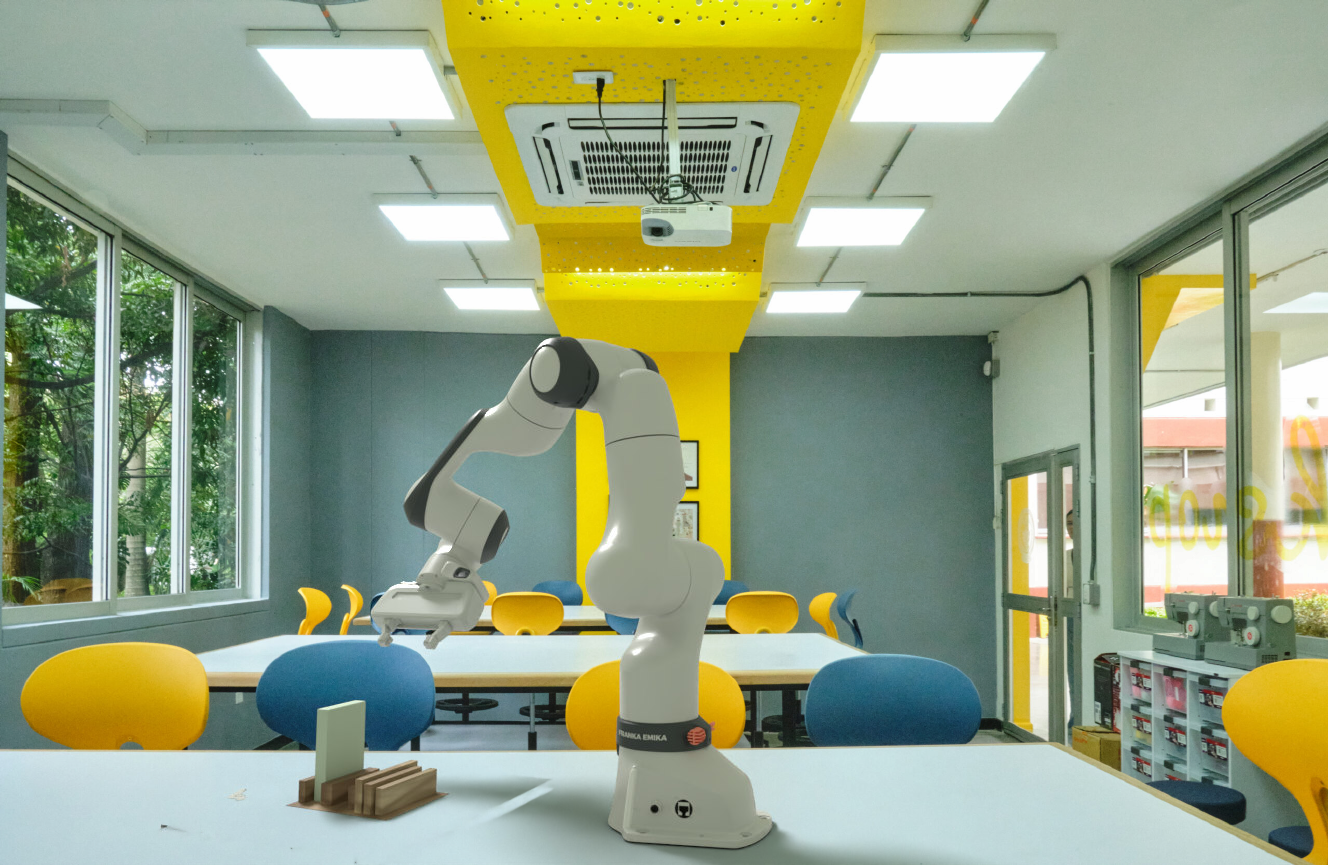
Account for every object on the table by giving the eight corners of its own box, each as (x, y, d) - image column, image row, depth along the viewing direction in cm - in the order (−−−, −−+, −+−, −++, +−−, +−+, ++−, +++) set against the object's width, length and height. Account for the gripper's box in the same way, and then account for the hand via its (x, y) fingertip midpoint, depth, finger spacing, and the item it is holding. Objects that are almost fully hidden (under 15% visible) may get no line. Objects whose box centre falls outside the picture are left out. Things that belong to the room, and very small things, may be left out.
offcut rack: (449, 801, 137) (450, 762, 138) (385, 829, 124) (387, 785, 125) (354, 789, 144) (355, 751, 145) (285, 813, 131) (287, 772, 132)
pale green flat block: (363, 788, 140) (365, 700, 142) (324, 802, 133) (327, 709, 134) (352, 786, 141) (355, 700, 142) (314, 800, 134) (317, 708, 135)
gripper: (387, 570, 165) (347, 631, 155) (483, 571, 156) (447, 635, 146) (403, 594, 168) (364, 654, 158) (497, 596, 160) (463, 660, 150)
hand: (405, 645), depth 152 cm, fingers open, 8 cm apart
